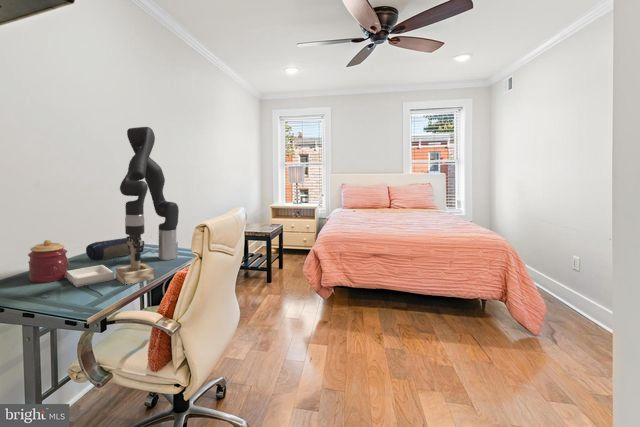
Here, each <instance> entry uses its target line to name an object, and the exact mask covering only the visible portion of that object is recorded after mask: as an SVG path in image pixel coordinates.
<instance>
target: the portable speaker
mask: <svg viewBox="0 0 640 427" xmlns="http://www.w3.org/2000/svg"><path fill="white" fill-rule="evenodd" d="M85 252H86V256H87V257H88V259H89V260H90V261H91V260H92V261H101V260H106V259H112V258H118V257H124V256H129V255H131V251H130V249H128V245H127V239H126V237H124V238H122V237H121V238H117V239H109V240H102V241H96V242H93V243H90V244H88V245H86V247H85Z"/></svg>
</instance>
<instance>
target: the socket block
mask: <svg viewBox="0 0 640 427" xmlns="http://www.w3.org/2000/svg"><path fill="white" fill-rule="evenodd" d="M154 270H155V269H154V268H153V267H151V266H149V265H148V264H145V263H140V270H138V271H133V272H132V269H131V265H127V266H121V267H116V268H115V279H116V280H118V281H119V282H120V283H121V284H123V285H124V284H125V285H124V286H127V285H126V284H129V285H133V284H137V283H141V282H146V281H150V280H154V277H155V276H154V274H155V273H154V272H155V271H154ZM130 283H132V284H130Z"/></svg>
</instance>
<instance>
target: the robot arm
mask: <svg viewBox="0 0 640 427" xmlns="http://www.w3.org/2000/svg"><path fill="white" fill-rule="evenodd" d="M126 135H127V139H128V143H129V145H130V146H131V148H132V150H133V153H134V155H133V156H132V157H131V159H130V160H129V163H128V168H127V172H126V174H125V176H124V178H123V180H122V181H121V183H120V187H119V191H120V194H121V195H123V196H127V197H137V199H134V200H128V201H126V202H125V216H124V226H125V228H124V230H125V235H127V236H126V237H125V238H126V239H127V241H130V242H132V243H133V244H132V245H133V249H134V252H135V261H140V262H141V261H142V260H141V258H142V257H141V253H143V252H144V247H145V241H144V240H142V235H143V234H145V216H144V215H145V214H144V205H145V204H144V203H145V198H146V196H147V192H148V191H149V193H150V196H151V199H152V204H153V208H154V211H155V213H156V215H157V216H158V217H160V218H164V222H162V223H159V224H158V259H159V260H161V261H171V260H174V259H177V258H178V257H179V255H178V254H179V253H178V251H179V242H178V241H177V228H178V223H179V213H180V212H179V211H180V210H179V206H178V204H177V203H176V202H173V201H167V200H166V198H165V197H164V196H165V195H164V193H163V192H164V187H165V181H166V179H165V174H164V172H163V169H162V167H161V166H160V165H159V164H158V163H157V162H156V161H155V160H154V159H152V158H151V157H150V156H151V153H152V151H153V148H154V145H155V140H156V139H155V138H156V137H155V136H156V135H155V132H154V130H153V129H152V128H151V127H150V126H140V127H139V126H138V127H130V128H128V129H127V131H126ZM143 180H145V181H143ZM134 243H135V244H134ZM136 244H137V247H135V245H136ZM127 245H128V244H127ZM136 248H137V249H136ZM128 249H130V251H131V246H130V245H128Z"/></svg>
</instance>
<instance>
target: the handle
mask: <svg viewBox="0 0 640 427" xmlns="http://www.w3.org/2000/svg"><path fill="white" fill-rule="evenodd" d="M127 244H128V245H130V246H131V254H130V266H131V269H132V272H133V271H138V270H140V264H142V263H141V260H140V261H135V252H134V249H133V245H132V244H133V243H132V242H130V241H127ZM134 244H135V243H134ZM135 247H137V244H136V245H135ZM136 249H137V248H136Z"/></svg>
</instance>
